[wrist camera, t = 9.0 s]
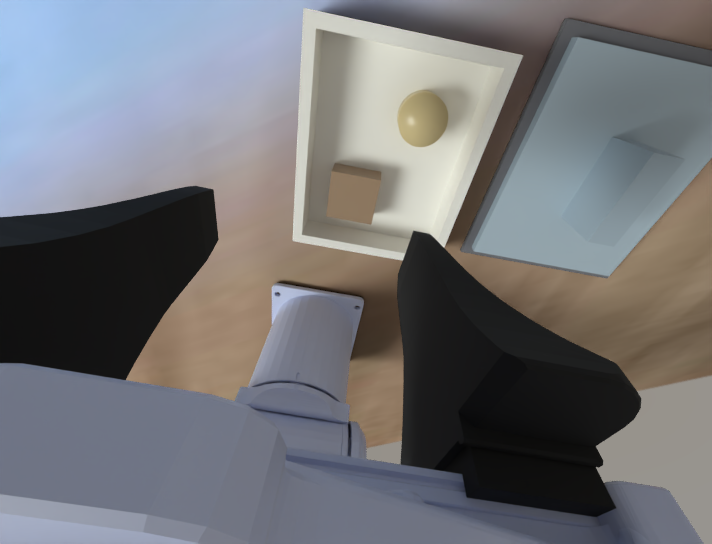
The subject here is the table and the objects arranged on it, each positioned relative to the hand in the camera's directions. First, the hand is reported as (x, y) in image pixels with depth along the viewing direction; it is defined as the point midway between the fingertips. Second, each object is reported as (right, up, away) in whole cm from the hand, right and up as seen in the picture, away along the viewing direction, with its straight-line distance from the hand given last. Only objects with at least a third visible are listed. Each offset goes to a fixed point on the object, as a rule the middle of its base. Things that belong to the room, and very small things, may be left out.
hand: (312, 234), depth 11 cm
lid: (+16, +4, +8) cm, 19 cm away
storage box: (+3, +6, +8) cm, 11 cm away
